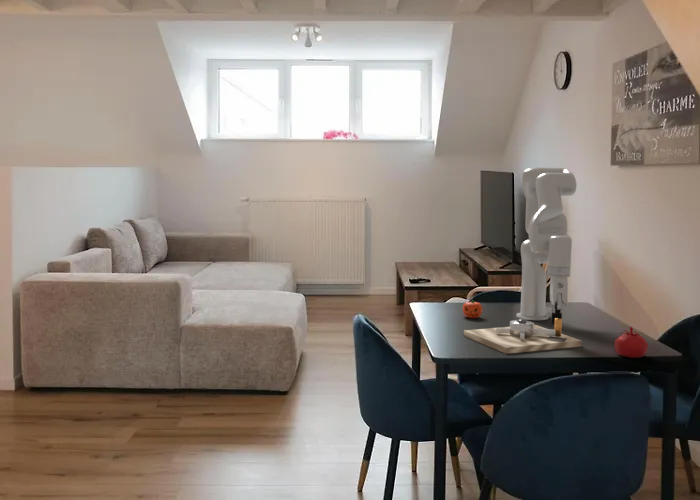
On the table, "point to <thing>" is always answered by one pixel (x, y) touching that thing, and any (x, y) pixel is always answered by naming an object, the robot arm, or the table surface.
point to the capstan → (530, 329)
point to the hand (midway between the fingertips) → (556, 324)
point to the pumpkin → (472, 309)
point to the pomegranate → (631, 345)
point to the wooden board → (520, 341)
